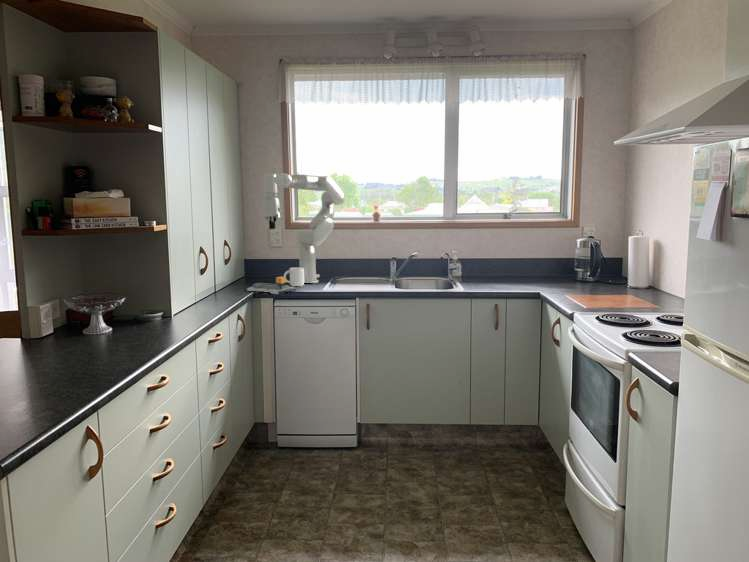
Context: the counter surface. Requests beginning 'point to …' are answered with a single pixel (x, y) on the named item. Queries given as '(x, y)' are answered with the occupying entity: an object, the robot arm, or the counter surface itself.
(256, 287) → the slider switch board
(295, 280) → the mug
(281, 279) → the orange block
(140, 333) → the counter surface
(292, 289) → the grey bar
